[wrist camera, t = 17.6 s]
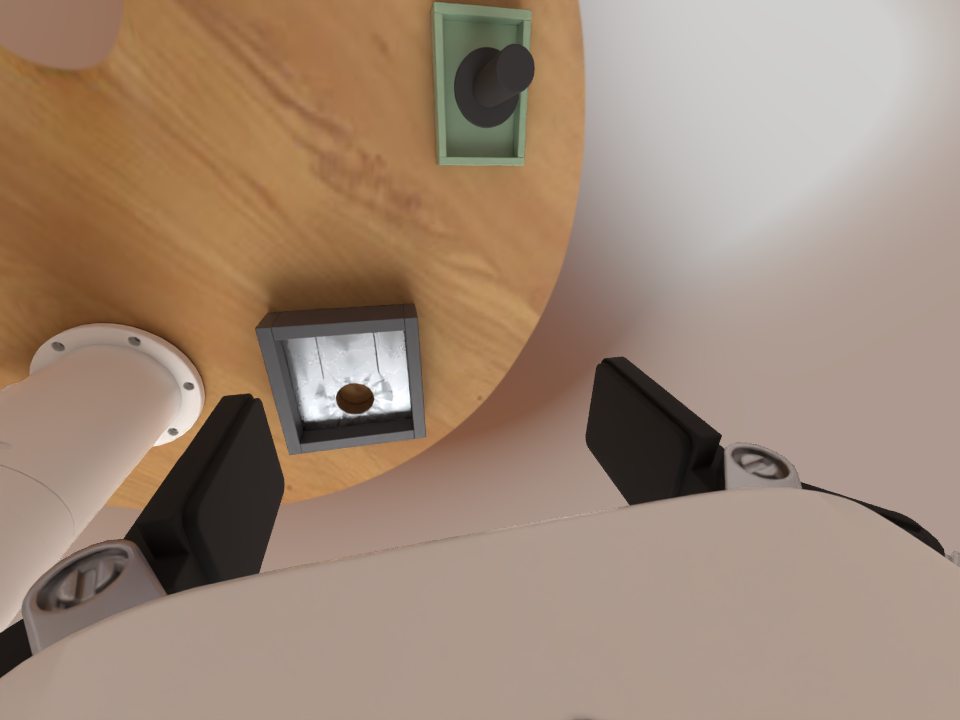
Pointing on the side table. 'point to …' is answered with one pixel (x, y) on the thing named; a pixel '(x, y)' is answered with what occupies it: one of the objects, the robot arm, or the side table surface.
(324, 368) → the plate
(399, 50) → the side table surface
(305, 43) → the side table surface
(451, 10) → the soap tray
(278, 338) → the sink basin
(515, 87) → the plug
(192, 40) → the side table surface
